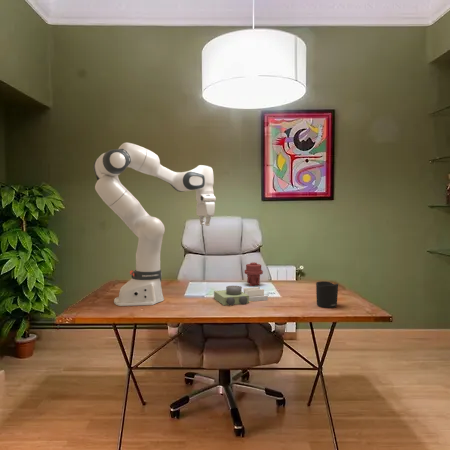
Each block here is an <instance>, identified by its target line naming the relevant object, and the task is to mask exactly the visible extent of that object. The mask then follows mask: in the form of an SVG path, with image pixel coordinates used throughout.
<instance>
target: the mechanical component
mask: <svg viewBox="0 0 450 450" xmlns="http://www.w3.org/2000/svg"><path fill="white" fill-rule="evenodd" d="M263 273H264V271H263V269H262V264H259V263H257V262H253V261H252V262H250V263H247V264H245V270H244V274H245V275H246V276H247V279H246V280H247V281H246V283H247V284H249V287H256V286H255V285H259V286H260V283H261V282H260V281H261V275H262V274H263Z"/></svg>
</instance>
